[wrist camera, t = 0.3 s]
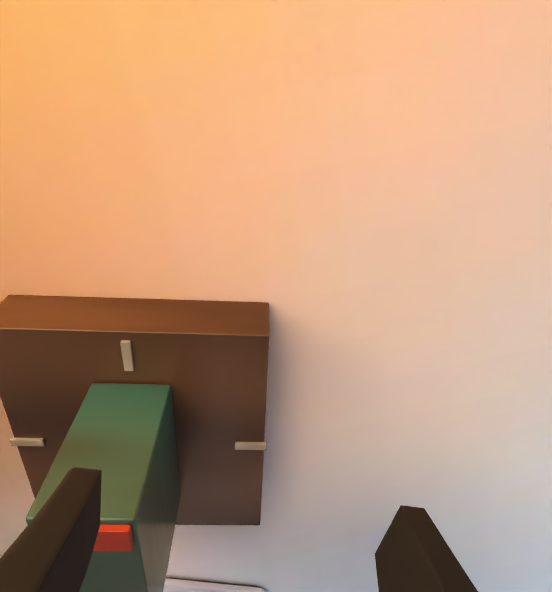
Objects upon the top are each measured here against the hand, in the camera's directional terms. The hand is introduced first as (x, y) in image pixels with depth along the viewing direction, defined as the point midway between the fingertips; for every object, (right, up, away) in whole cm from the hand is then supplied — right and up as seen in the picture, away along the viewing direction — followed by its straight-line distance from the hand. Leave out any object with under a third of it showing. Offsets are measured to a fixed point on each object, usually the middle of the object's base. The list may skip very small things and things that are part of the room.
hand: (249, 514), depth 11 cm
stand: (-5, 0, +12) cm, 13 cm away
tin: (-5, -1, +9) cm, 11 cm away
